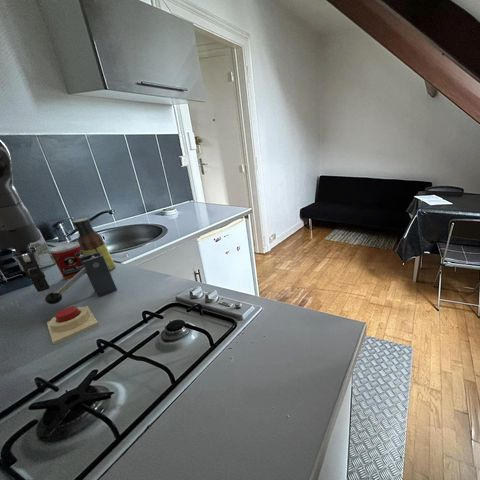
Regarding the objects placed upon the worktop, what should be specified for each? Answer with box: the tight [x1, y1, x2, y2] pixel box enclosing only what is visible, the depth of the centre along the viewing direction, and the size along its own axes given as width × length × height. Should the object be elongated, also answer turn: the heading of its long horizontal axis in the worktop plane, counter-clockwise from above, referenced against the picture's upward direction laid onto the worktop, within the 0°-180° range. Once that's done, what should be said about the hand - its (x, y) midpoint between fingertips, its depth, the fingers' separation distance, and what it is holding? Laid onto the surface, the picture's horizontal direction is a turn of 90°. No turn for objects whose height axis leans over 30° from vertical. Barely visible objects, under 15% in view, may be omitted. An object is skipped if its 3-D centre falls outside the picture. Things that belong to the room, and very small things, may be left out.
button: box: [54, 305, 80, 323], centre depth 62 cm, size 4×4×2 cm
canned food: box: [49, 241, 87, 281], centre depth 89 cm, size 8×8×11 cm
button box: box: [46, 305, 100, 345], centre depth 63 cm, size 11×8×4 cm
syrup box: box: [30, 229, 57, 269], centre depth 97 cm, size 6×6×14 cm
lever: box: [44, 255, 95, 305], centre depth 71 cm, size 15×3×3 cm
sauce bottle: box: [72, 217, 116, 272], centre depth 87 cm, size 6×6×20 cm
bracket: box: [79, 252, 118, 298], centre depth 75 cm, size 11×9×13 cm
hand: (42, 284), depth 67 cm, fingers open, 8 cm apart
